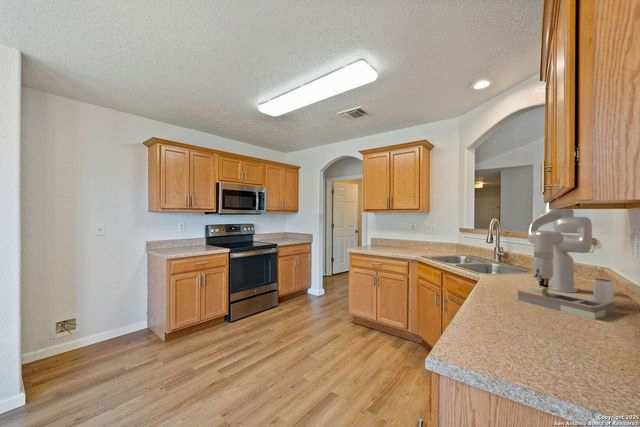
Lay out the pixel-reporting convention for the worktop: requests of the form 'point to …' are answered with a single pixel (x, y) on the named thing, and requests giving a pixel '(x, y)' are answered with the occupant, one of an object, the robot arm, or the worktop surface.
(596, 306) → the trap deck
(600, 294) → the can
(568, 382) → the worktop surface
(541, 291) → the block
